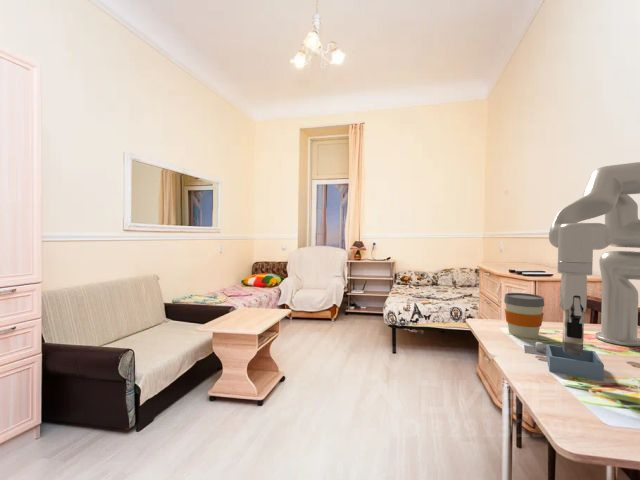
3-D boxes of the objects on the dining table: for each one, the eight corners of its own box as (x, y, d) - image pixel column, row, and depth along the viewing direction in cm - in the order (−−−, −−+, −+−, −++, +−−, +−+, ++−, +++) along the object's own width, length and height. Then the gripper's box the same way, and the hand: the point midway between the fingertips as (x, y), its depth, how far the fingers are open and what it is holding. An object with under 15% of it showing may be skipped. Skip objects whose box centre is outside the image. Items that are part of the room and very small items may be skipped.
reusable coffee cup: (535, 332, 126) (536, 293, 126) (550, 343, 114) (551, 300, 114) (499, 330, 129) (499, 292, 129) (509, 340, 117) (510, 298, 117)
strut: (580, 351, 92) (581, 308, 91) (582, 355, 88) (584, 310, 88) (562, 348, 94) (563, 306, 93) (564, 353, 90) (565, 309, 90)
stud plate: (524, 348, 110) (524, 337, 110) (553, 352, 106) (553, 341, 106) (524, 355, 103) (524, 344, 103) (556, 361, 99) (556, 349, 99)
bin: (546, 360, 99) (546, 344, 99) (594, 368, 93) (594, 351, 93) (549, 374, 89) (549, 356, 89) (603, 384, 84) (603, 365, 83)
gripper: (554, 265, 100) (553, 326, 100) (561, 270, 85) (559, 341, 85) (586, 266, 96) (584, 329, 96) (599, 272, 81) (597, 346, 82)
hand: (572, 334), depth 91 cm, fingers closed on strut, 4 cm apart
